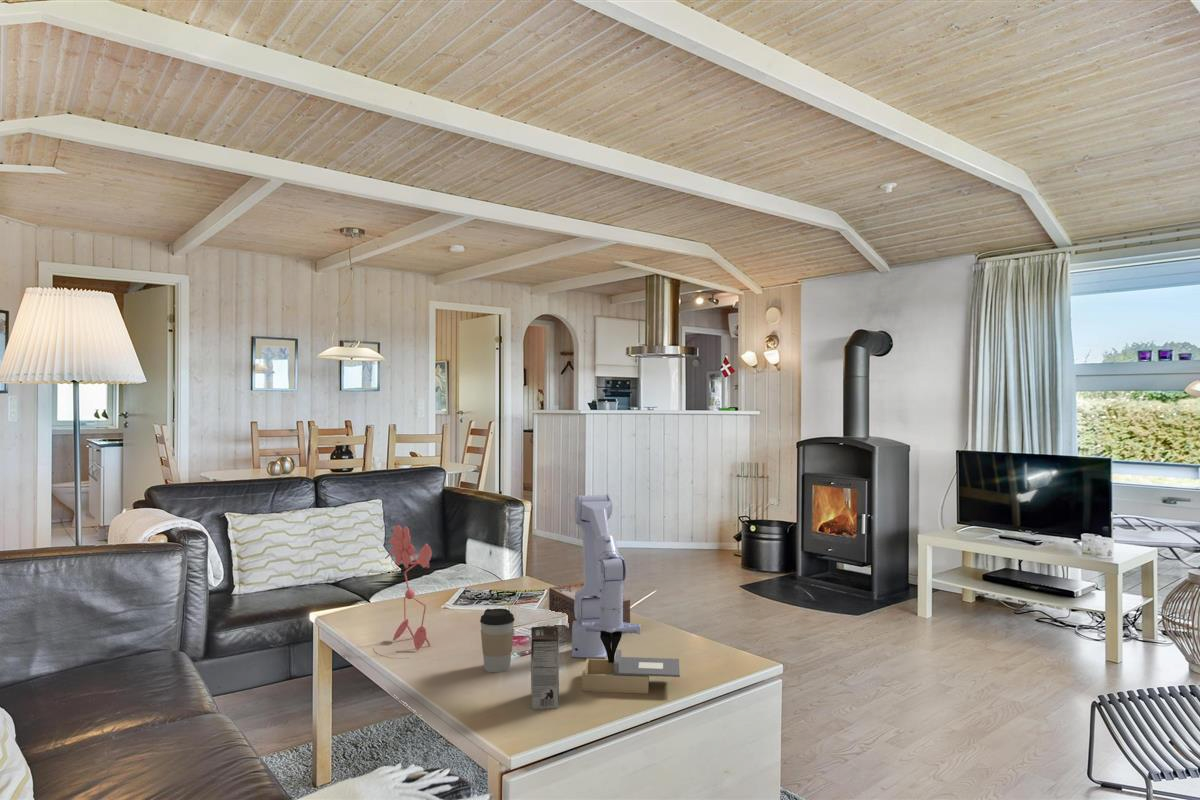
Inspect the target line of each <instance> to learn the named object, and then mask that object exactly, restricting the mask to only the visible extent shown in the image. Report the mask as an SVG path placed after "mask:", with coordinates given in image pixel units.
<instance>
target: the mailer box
mask: <svg viewBox="0 0 1200 800" xmlns="http://www.w3.org/2000/svg"><path fill="white" fill-rule="evenodd" d="M614 661H615V658H614ZM613 670H614V663H608V658H586V661H585V664H584V665H583V670H582V674H581V691H582V692H598V693H599V692H602V693H603V692H604V693H623V694H624V693H625V694H626V693H629V694H649V684H650V676H635V675H613Z"/></svg>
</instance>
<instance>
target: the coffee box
mask: <svg viewBox="0 0 1200 800" xmlns="http://www.w3.org/2000/svg"><path fill="white" fill-rule="evenodd" d="M530 631H531V632H530V634H531V635H530V636H531V638H530V639H531V641H530V648H531V649H530V652H531V653H530V654H531V655H530V672H531V673H530V674H531V675H530V679H531V680H530V684H531V685H530V687H531V688H530V689H531V693H530V694H531V709H532V710H537V709H538V710H540V709H541V710H542V709H558V708H559V699H560V698H559V692H560V691H559V690H560V688H559V687H560V683H559V682H560V677H559V676H560V673H559V672H560V637H559V628H558V626H532V627H531V630H530Z"/></svg>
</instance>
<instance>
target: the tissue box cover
mask: <svg viewBox="0 0 1200 800" xmlns="http://www.w3.org/2000/svg"><path fill="white" fill-rule="evenodd" d="M583 586H584V582H578V583H573V584H565V585H558V586H553V587H551V586H550V587H549V588H548V604H549V605H548V611H549V610H551V611H555V612H562V613H566V614H567V615H568V623H569V631H570V630H571V631H572V625H573V621H577V620H576V618H575V614H574V602H575V593H576V592H577V591H578V590H579V589H580V588H581V587H583ZM589 597H600V596H586V597H583V598H589ZM623 622H625V623H631V599H629V598H626V597H624V596H623ZM623 634H624V633H622V635H623ZM611 635H612V633H611Z"/></svg>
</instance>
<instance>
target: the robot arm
mask: <svg viewBox="0 0 1200 800" xmlns="http://www.w3.org/2000/svg"><path fill="white" fill-rule="evenodd" d="M573 507H574V508H573V509H574V522H575V525H578V526H579V527H581V531H582V551H583V552H582V556H583V578H584V579H583V581H584V582H583V583H584V586H583V587H581V588H580V589H579V590H578V591H577V592H576V593H575V602H574V614H575V618H576V620H577V621H573V625H572V630H571V657H572V658H586V659H608V663H614V659H615V656H616V651H617V650H618V646H619V644H620V641H621V639H622V636H623V634H636V635H641V632H642V631H641V629H642V627H641V626H642V625H641V623H639V624H638V623H633V622H632V623H631V622H630V623H625V622H623V597H624V593H623V592H624V581H626V577H627V567H626V561H625V559H624V557H623V556H622V555H621V554H620V552H619V549H618V544H617V541H616V539H615V537H614V536H613V535H610V527H609V522H608V521H609V519H611V516H612V514H613V499H612V496H610V494H608V493H607V494H596V495H595V494H594V495H593V494H592V495H590V494H589V495H581V494H579V495H578V494H577V495H576V496H575V498H574V505H573ZM586 596H600V597H589V598H583V597H586ZM611 633H612V635H611ZM622 633H623V634H622Z"/></svg>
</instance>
